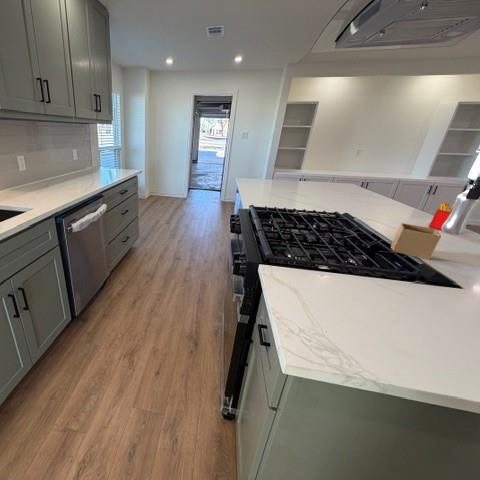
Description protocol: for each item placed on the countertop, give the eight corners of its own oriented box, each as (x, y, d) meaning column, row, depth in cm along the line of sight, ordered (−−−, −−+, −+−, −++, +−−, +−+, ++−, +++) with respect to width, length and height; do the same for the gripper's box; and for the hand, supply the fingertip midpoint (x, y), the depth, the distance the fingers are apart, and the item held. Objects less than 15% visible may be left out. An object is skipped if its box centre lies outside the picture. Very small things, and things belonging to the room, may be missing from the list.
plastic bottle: (438, 233, 105) (462, 184, 96) (440, 229, 108) (463, 182, 100) (461, 238, 100) (488, 188, 92) (462, 233, 104) (488, 185, 96)
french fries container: (430, 225, 146) (442, 201, 140) (453, 230, 139) (466, 205, 133) (428, 227, 142) (440, 203, 136) (451, 232, 135) (465, 207, 130)
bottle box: (423, 254, 109) (436, 229, 104) (427, 262, 101) (441, 236, 97) (390, 246, 115) (400, 222, 110) (391, 254, 108) (402, 228, 103)
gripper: (520, 149, 83) (491, 203, 90) (500, 148, 95) (476, 195, 102) (485, 148, 87) (460, 199, 94) (471, 147, 100) (450, 192, 107)
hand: (469, 197), depth 98 cm, fingers closed on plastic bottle, 6 cm apart
